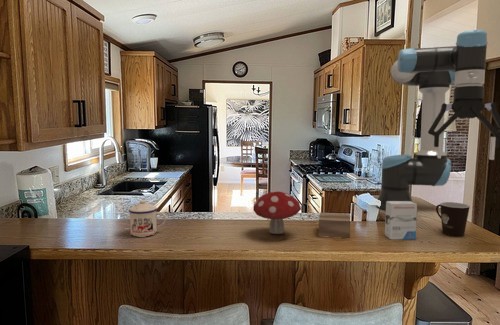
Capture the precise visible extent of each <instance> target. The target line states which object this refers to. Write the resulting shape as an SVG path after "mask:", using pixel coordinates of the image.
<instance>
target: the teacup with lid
mask: <svg viewBox="0 0 500 325" xmlns="http://www.w3.org/2000/svg"><path fill="white" fill-rule="evenodd" d="M157 210H158V208H157V206H156V205H155V204H154V205H153V204H151V203H148V202H147V201H146V200H145V199H141V200H139V203H137V204H135V205H134V206H131V207H130V208H129V210H128V212H129V224H130V229H129V230H130V234H131V233H133V234H139V235H141V234H142V235H143V234H151V233H154V232H156V231H157V232H158V228H159V227H162V226H164V225H165V223H166V220H167V217H166V214H165V212H162V211H157ZM157 215H162V216H163V221H162V222H161V223H159V224H157V223H158V222H157V218H158V217H157Z"/></svg>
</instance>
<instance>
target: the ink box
mask: <svg viewBox="0 0 500 325" xmlns="http://www.w3.org/2000/svg"><path fill="white" fill-rule="evenodd" d="M417 216H418V203H415V202H411V201H386V210H385V220H384V222H385V224H384V236H386V238H388V239H389V240H416V239H417V222H418V221H417V220H418V218H417Z"/></svg>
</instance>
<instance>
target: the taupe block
mask: <svg viewBox="0 0 500 325" xmlns="http://www.w3.org/2000/svg"><path fill="white" fill-rule="evenodd" d="M319 236H329V237H328V238H330V237H341V238H340V239H345V238H350V239H351V216H350V213H337V212H320V213H319V217H318V237H319Z"/></svg>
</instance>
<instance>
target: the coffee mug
mask: <svg viewBox="0 0 500 325" xmlns="http://www.w3.org/2000/svg"><path fill="white" fill-rule="evenodd" d="M439 207H440V211H439ZM469 211H470V205H468V204H466V203H461V202H452V201H451V202H450V201H443V202H440V203H439V204H437V205H436V208H435V212H436V214H437V215H438V218H440V219H441V231H442V234H443V235H445V236H448V237H452V236H453V237H454V238H461V237H464V236H465V232H466V227H467V222H468V217H469V213H470V212H469Z"/></svg>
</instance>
